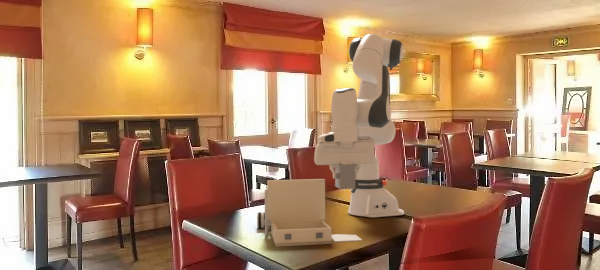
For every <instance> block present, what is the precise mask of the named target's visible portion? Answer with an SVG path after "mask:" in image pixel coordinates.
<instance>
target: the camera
mask: <svg viewBox="0 0 600 270" xmlns="http://www.w3.org/2000/svg"><path fill="white" fill-rule="evenodd" d="M256 215H257V216H256V219H257V220H256V222H257V223H256V224H257V225H256V226H257V227H256V228H257V229H265V225H264V220H265V211H264V212H261V211H259V212H257V214H256ZM269 232H270V233H271V226H268V233H269Z"/></svg>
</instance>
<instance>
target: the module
mask: <svg viewBox="0 0 600 270" xmlns="http://www.w3.org/2000/svg"><path fill="white" fill-rule="evenodd" d="M334 171H335V172H336V173H338V179H335V181H334V187H336V189H339V190H350V189H355V164H352V163H341V164H339V165H335V168H334Z"/></svg>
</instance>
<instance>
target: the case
mask: <svg viewBox="0 0 600 270" xmlns="http://www.w3.org/2000/svg"><path fill="white" fill-rule="evenodd" d="M266 181H267V186H266V187H267V189H264V212H265V220H264V225H265V228H264V236H265V238H267V237H269V230H268V226H271V232H270V237H271V238H272V239H271V240H272V242H273V245H274V246H275V247H277V248H278V247H293V246H315V245H316V246H317V245H332V243H333V239H332V235H333V233H332V232H333V231H332V229H333V228H332V227H331V226H330V225H329V224H327V222H326V221H325V220H326V179H325V178H314V179H313V178H311V179H310V178H308V179H306V178H305V179H280V180H279V179H277V180H275V179H273V180H272V179H270V180H266Z"/></svg>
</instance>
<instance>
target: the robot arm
mask: <svg viewBox="0 0 600 270" xmlns="http://www.w3.org/2000/svg"><path fill="white" fill-rule="evenodd" d="M404 53H405V51H404V45H403V42H402V41H400V40H398V39H395V38H393V39H390V38H385V37H381V36H380V35H379V34H375V33H369V34H367V35H365V36H363V37H355V38H353V39H352V40H351V41H350V44H349V48H348V55H349V59H350V60H351V62H352V70H353V72H354V74H355V76H356V77H357V78H358V79H360V83H359V88H358V94H357V92H356V91H357V90H356V88H353V87H342V88H337V89H334V90H333V92H332V94H331V95H332V96H331V105H330V106H331V107H330V109H331V110H330V116H331V121H332V123H331V128H330V129H331V130H330V131H329V132H326V133H323V134H320V135H318V136H317V142H318V143H317V144H315V149H314V154H313V155H314V156H313V161H314V164H315V165H317V166H329V170H330V172H331V173H332V178H333V179H338V173H336V172H335V165H339V164H341V163H352V164H355V189H349V190H350V192H351V193H350V201H349V208H348V211H347V214H348V215H352V216H356V217H358V216H359V217H367V218H381V217H393V216H394V217H395V216H403V215H405V211H404V210H403V209H401V208H399V202H398V199H397V198H396V196H395V195H394V194H392V193H390V192H389V191H388V190H387V189H385V188H384V186H387V185H388V181H387V180H384V179H383V180H382V179H381V178H380V162H379V161H380V160H379V159H378V157H377V156H376V155H375V146H379V145H387V144H390V143H392V141H393V140H394V139H395V136H396V131H397V130H396V125H395V123H394V122H393V121H392V119H391V117H392V110H391V109H392V108H391V78H390V72H389V71H392V70H393V69H394V68H396V67H397V66H398V65H399V64H400V63H401V61H402V60H403V57H404Z"/></svg>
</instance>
